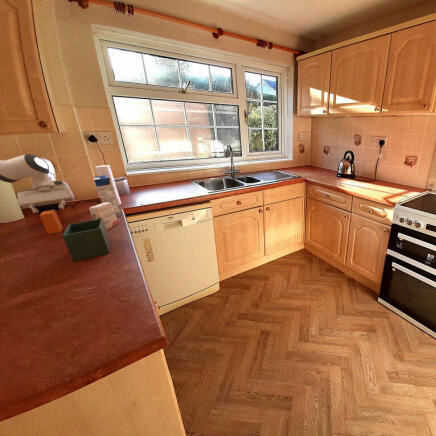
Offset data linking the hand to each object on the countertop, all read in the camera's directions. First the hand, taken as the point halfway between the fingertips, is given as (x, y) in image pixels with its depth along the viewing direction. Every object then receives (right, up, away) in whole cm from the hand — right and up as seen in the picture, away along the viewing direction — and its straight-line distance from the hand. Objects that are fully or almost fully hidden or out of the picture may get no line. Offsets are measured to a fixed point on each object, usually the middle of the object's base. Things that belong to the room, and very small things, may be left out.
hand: (48, 210), depth 120 cm
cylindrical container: (+4, +5, +39) cm, 39 cm away
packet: (+2, -10, +1) cm, 10 cm away
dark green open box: (+38, -17, -19) cm, 45 cm away
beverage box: (+17, -2, +21) cm, 27 cm away
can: (-8, +15, +64) cm, 66 cm away
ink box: (+26, -8, +4) cm, 28 cm away
